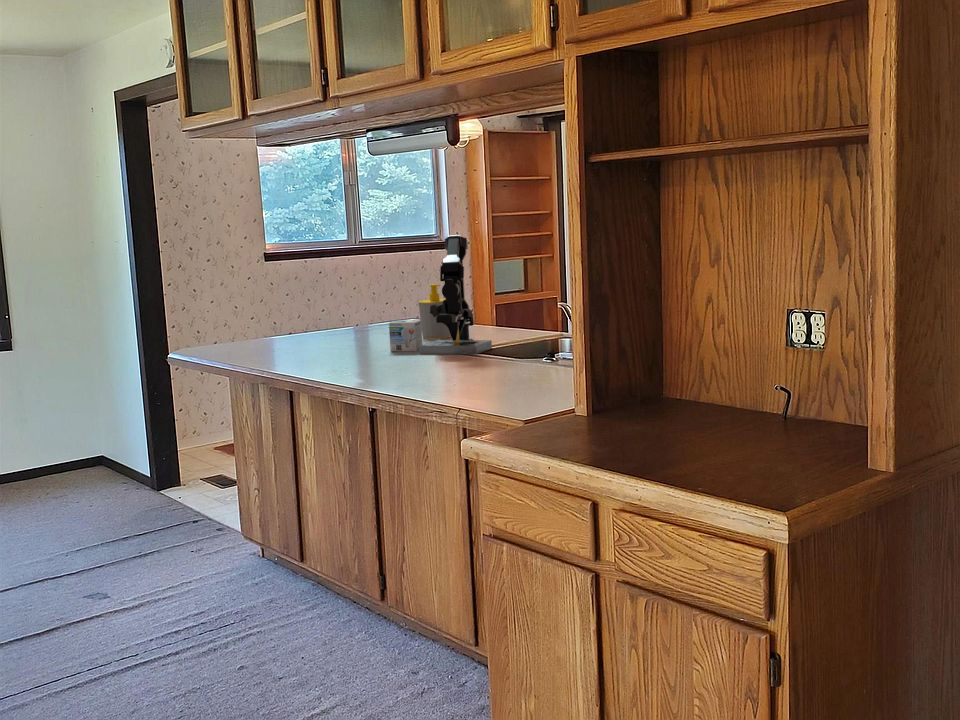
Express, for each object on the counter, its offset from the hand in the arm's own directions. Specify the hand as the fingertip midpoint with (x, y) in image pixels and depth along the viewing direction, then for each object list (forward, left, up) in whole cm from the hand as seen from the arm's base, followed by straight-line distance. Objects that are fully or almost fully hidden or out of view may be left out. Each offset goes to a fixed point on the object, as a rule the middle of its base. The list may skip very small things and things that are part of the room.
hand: (455, 339), depth 339 cm
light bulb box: (-2, -21, -4) cm, 22 cm away
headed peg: (0, 0, -4) cm, 4 cm away
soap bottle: (-36, -25, -4) cm, 44 cm away
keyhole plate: (0, 0, -4) cm, 4 cm away
